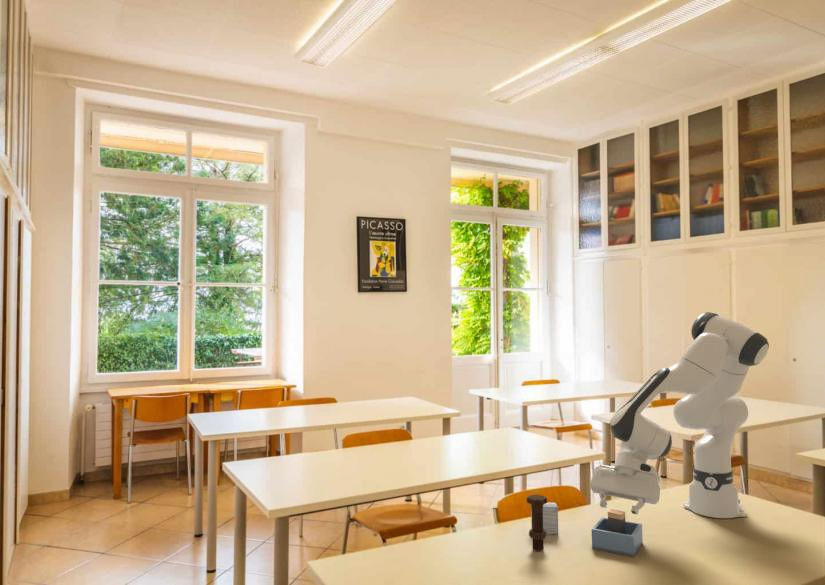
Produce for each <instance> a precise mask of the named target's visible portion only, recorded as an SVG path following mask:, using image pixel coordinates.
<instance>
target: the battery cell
mask: <svg viewBox="0 0 825 585" xmlns="http://www.w3.org/2000/svg"><path fill="white" fill-rule="evenodd" d="M607 518H608V531H610V532H616V533H622V534H626V523H625V521H626V511H623V510H618V509H613V508H612V509H610V510H608V511H607Z"/></svg>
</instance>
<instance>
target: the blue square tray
mask: <svg viewBox="0 0 825 585" xmlns="http://www.w3.org/2000/svg"><path fill="white" fill-rule="evenodd" d="M625 523H626V534H622V533H616V532H610V531H608V517H601V518H600V519H599V520H598V521H597V523H596V524H594V526H593V527H592V528H591V549H592V550H595V549H597V550H596V551H600V550H602V551H601V552H606V551H607V553H612V554H617V555H622V556H627V557H631V558H635V556H636V554H637V553H638V552H639V550H640V548H641V546H642V545H643V541H644V540H643V523H638V522H635V521H634V522H633V521H627V520H625Z"/></svg>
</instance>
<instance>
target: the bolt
mask: <svg viewBox="0 0 825 585" xmlns="http://www.w3.org/2000/svg"><path fill="white" fill-rule="evenodd" d="M547 502H548V498H547V497H546V496H545V495H542V494H529V495H527V497H526V503H528V504H530V510H531V509H532V526H531V528H530V529H529V531H528V536H529V537H530V538H531V540H532V549H533V550H534V551H536V552H542V551H544V545H545V544H544V543H545V541H544V540H545V539H546V537H547V536H548V534H547V533H546V531H545V530H544V529H543V505H544V504H546V503H547Z"/></svg>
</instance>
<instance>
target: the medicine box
mask: <svg viewBox="0 0 825 585" xmlns="http://www.w3.org/2000/svg"><path fill="white" fill-rule="evenodd" d="M558 508H559V507H558V505H557V503H556V502H550V501H549V502H548V501H547V503H546V504H544V505H543V529H544V530H545V531H546V533H547V535H553V534H558V535H559V534H560V533H559V509H558ZM530 517H531V520H530V521H531V526H530V527H532V509H531V508H530Z"/></svg>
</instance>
